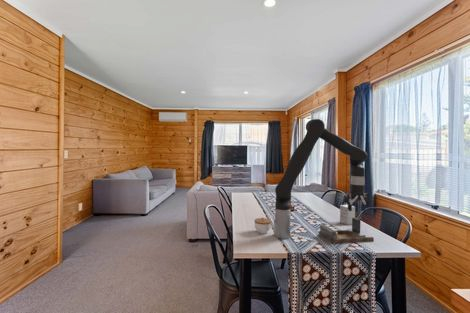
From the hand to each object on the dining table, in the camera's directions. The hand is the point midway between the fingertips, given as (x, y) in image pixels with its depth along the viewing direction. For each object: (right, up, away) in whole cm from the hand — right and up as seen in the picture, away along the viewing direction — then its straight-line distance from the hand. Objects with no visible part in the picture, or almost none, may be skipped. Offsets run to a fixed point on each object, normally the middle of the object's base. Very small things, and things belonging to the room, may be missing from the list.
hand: (356, 210), depth 141 cm
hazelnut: (-14, -16, -2) cm, 21 cm away
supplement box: (+10, -17, +33) cm, 39 cm away
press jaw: (0, -16, 0) cm, 16 cm away
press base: (-7, -17, -1) cm, 19 cm away
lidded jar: (-55, -17, +11) cm, 58 cm away
